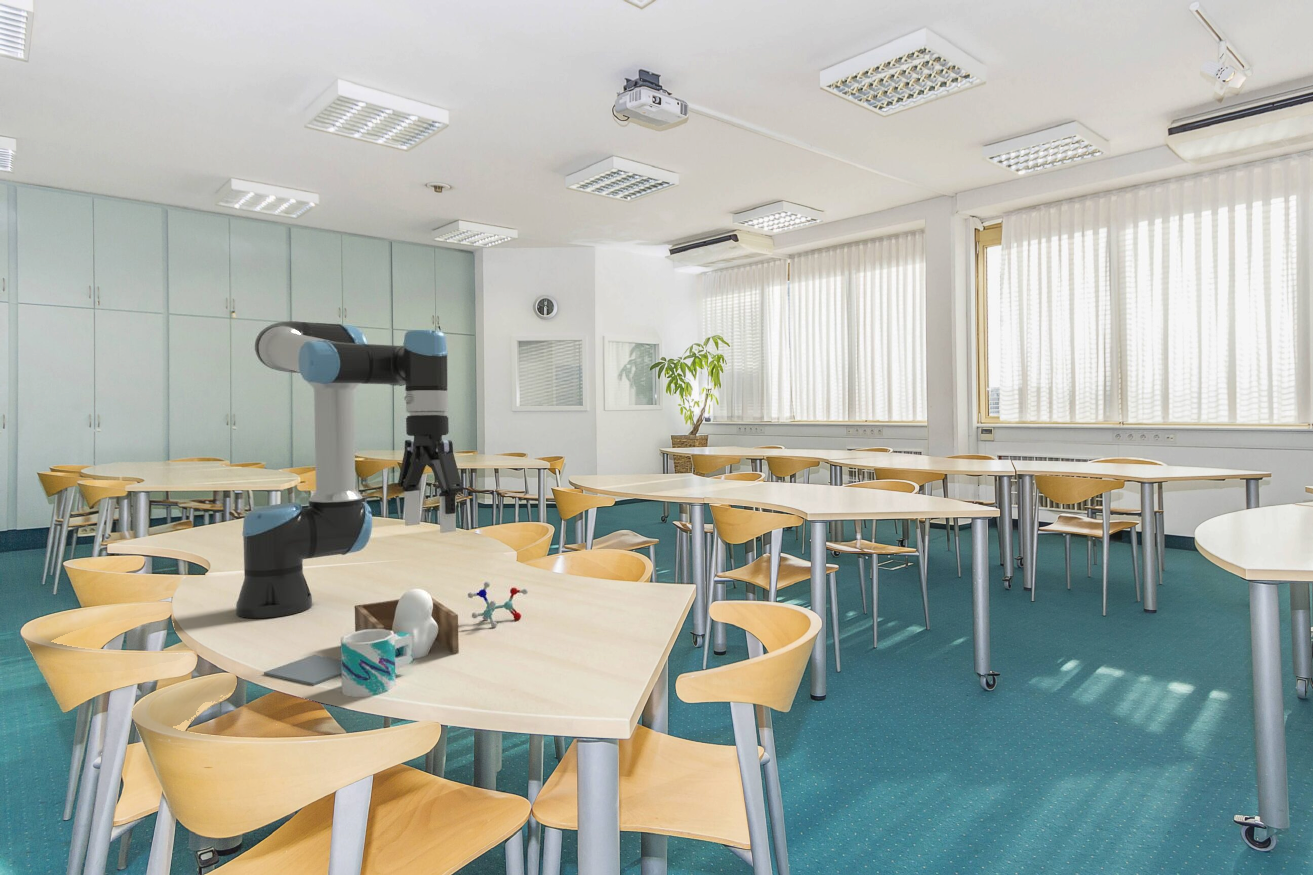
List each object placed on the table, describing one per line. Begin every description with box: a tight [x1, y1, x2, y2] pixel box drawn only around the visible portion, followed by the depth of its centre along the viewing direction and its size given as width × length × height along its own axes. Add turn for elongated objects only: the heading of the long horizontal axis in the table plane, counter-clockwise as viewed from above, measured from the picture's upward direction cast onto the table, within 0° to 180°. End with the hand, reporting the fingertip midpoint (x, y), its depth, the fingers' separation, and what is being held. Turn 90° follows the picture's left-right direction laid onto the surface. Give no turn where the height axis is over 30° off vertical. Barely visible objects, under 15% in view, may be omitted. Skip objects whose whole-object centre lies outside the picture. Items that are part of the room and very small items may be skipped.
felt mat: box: [263, 654, 342, 686], centre depth 127 cm, size 12×10×1 cm
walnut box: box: [354, 596, 460, 655], centre depth 139 cm, size 18×14×7 cm
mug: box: [340, 629, 414, 698], centre depth 121 cm, size 8×12×8 cm
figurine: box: [392, 588, 438, 660], centre depth 135 cm, size 7×8×12 cm
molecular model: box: [467, 581, 529, 629], centre depth 156 cm, size 12×10×10 cm
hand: (429, 528), depth 139 cm, fingers open, 13 cm apart
